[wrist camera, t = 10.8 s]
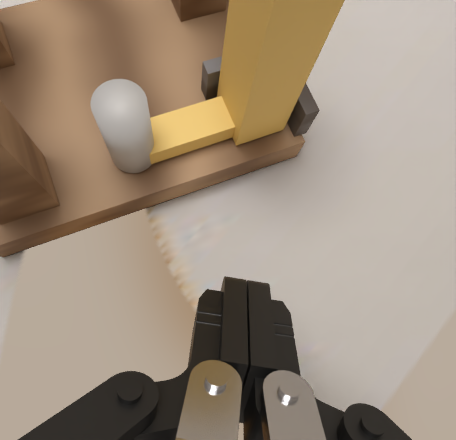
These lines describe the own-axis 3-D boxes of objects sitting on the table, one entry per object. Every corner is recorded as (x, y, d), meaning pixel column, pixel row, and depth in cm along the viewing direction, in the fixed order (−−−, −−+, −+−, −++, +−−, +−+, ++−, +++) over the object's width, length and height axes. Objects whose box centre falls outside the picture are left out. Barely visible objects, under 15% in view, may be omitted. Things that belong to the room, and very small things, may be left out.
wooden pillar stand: (3, 257, 22) (-400, 84, 7) (-55, 49, 25) (-423, -389, 10) (300, 154, 26) (468, -112, 10) (218, -18, 29) (255, -418, 13)
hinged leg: (121, 184, 22) (16, -59, 8) (103, 136, 22) (-20, -161, 9) (283, 129, 24) (410, -140, 10) (262, 86, 24) (357, -220, 11)
